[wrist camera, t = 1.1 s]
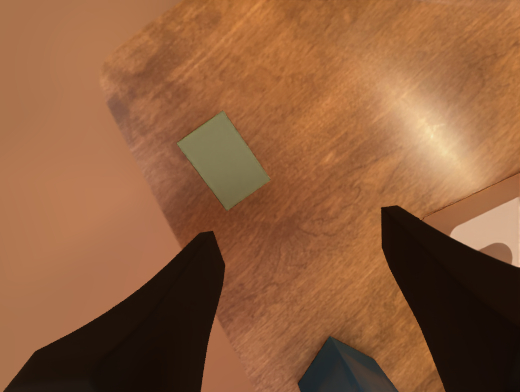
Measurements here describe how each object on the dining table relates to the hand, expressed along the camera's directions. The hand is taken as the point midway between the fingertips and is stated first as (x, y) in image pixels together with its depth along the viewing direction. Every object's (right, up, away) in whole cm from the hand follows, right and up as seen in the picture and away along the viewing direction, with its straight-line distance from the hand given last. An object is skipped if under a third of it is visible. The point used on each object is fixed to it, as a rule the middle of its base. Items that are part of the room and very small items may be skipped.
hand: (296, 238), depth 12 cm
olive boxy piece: (-5, +5, +13) cm, 15 cm away
